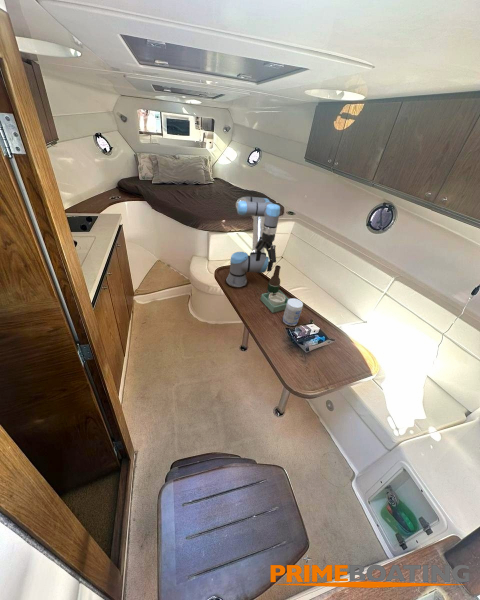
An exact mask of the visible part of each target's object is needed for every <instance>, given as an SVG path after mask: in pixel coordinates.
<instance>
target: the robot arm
mask: <svg viewBox="0 0 480 600" xmlns="http://www.w3.org/2000/svg"><path fill="white" fill-rule="evenodd" d="M235 209H236V211H237V214H238V215H241V216H251V218H252V219H253V223H252V225H253V226H252V247H251V249H252V251H251V252H249V255H248V253H247V252H244V251H236V252H234V253H231V256H230V260H229V261H230V262H229V263H230V264H229V273H228V275H227V277H226V281H225V282H226V284H227V285H228V287H231V288H233V289H242V288H244V287H246V286H247V284H248V279H247V275H246V273H256V274H257V273H258V274H264V273H266V272H267V273H268V272H272V269H273V267H274V263H275V264H276V262H277V254H276V246H277V245H275V244H273V242H275V239H276V233H277V228H278V222H279V218H280V215H281V206H280V205H279V204H276V203H273V202H271V201H270V199H269V198H266V197H257V196H256V197H255V196H242V197H240V198H238V199H237V201H236V202H235ZM265 250H266V252H265Z"/></svg>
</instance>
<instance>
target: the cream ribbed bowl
mask: <svg viewBox="0 0 480 600" xmlns="http://www.w3.org/2000/svg"><path fill="white" fill-rule="evenodd" d="M272 294H273V293H270V294H269V296H268V301H269V302H270V303H271V304H272V305H273V306H274V307H275V306H279V305H283V304H284V303H285V299H286V298H285V296H286V295H285V294H284V293H283V294H284V295H285V296H284V295H283V294H281V293H278V292H277V293H276V295H274V296H272Z"/></svg>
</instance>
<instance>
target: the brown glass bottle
mask: <svg viewBox="0 0 480 600" xmlns="http://www.w3.org/2000/svg"><path fill="white" fill-rule="evenodd" d="M280 271H281V266H280V265H275V266H274V271H273V274H272V276H271V277H270V279H269V281H268V284H267V289H266V293H269V294H270V293H273V294H272V296H274V295H276V293H277V292H278V290H280V285H281V279H280Z"/></svg>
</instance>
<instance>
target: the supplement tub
mask: <svg viewBox="0 0 480 600" xmlns="http://www.w3.org/2000/svg"><path fill="white" fill-rule="evenodd" d="M288 299H289V300H288V302H287V304H286V308H285V310H284V312H283V315H282V322H283V323H284V324H285V325H286V326H290V327H295V326H297V325H298V322H299V320H300V317H301V313H302V311H303V308H304V303H303V301H302V300H301V299H298V298H295V297H294V298H288Z"/></svg>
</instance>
